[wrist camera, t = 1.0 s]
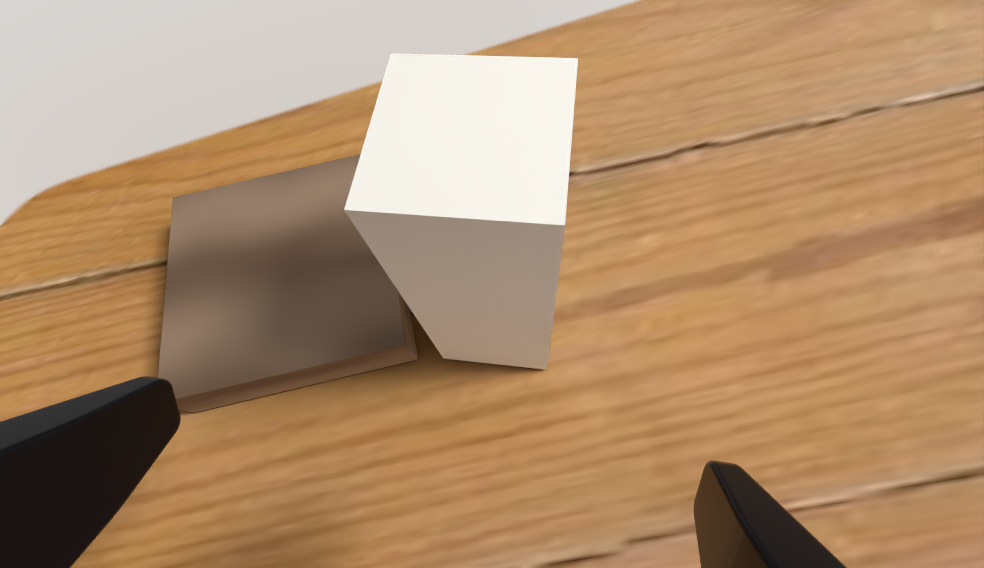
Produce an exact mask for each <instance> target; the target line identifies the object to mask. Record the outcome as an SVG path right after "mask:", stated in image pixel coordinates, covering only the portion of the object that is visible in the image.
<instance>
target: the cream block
mask: <svg viewBox="0 0 984 568" xmlns="http://www.w3.org/2000/svg"><path fill="white" fill-rule="evenodd" d="M577 63H578V58H546V57H507V56H468V55H430V54H429V55H428V54H391V55H390V59H389V62H388V66H387V69H386V72H385V76H384V79H383V82H382V85H381V89H380V92H379V95H378V99H377V102H376V105H375V109H374V112H373V115H372V119H371V122H370V125H369V129H368V132H367V135H366V139H365V142H364V145H363V149H362V152H361V155H360V158H359V162H358V165H357V168H356V172H355V175H354V178H353V182H352V185H351V188H350V192H349V195H348V198H347V202H346V205H345V208H344V211H345V212H346V214H347V215H348V217H349V218H350V220H351V221H352V223H353V224H354V226H355V227H356V229H357V230H358V232H359V233H360V235H361V236H362V238H363V239H364V241H365V242H366V244H367V245H368V246H369V248H370V249H371V251H372V252H373V254H374V255H375V257H376V258H377V260H378V261H379V263H380V264H381V266H382V267H383V269H384V270H385V272H386V273H387V275H388V276H389V278H390V279H391V281H392V282H393V284H394V285H395V287H396V288H397V290H398V291H399V293H400V294H401V296H402V297H403V299H404V300H405V302H406V303H407V305H408V306H409V308H410V309H411V311H412V312H413V314H414V315H415V317H416V318H417V320H418V321H419V323H420V324H421V326H422V327H423V329H424V330H425V332H426V333H427V335H428V336H429V338H430V339H431V341H432V342H433V344H434V345H435V347H436V348H437V350H438V351H439V353H440V354H441V356H442V357H443V358H444V359H453V360H463V361H472V362H481V363H490V364H499V365H509V366H518V367H527V368H536V369H545V370H547V367H548V359H549V351H550V342H551V334H552V326H553V318H554V310H555V302H556V294H557V285H558V277H559V269H560V261H561V253H562V245H563V236H564V228H565V217H566V204H567V191H568V179H569V166H570V153H571V140H572V127H573V114H574V102H575V89H576V76H577Z"/></svg>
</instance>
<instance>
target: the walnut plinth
mask: <svg viewBox="0 0 984 568" xmlns="http://www.w3.org/2000/svg"><path fill="white" fill-rule="evenodd" d="M360 155H361V154H360ZM360 155H356V156H351V157H347V158H342V159H338V160H334V161H329V162H325V163H321V164H316V165H312V166H308V167H303V168H299V169H295V170H290V171H286V172H282V173H277V174H273V175H269V176H264V177H260V178H255V179H251V180H247V181H242V182H238V183H234V184H229V185H225V186H221V187H216V188H212V189H208V190H203V191H199V192H195V193H190V194H186V195H181V196H177V197H173V202H172V214H171V226H170V238H169V250H168V262H167V274H166V287H165V299H164V311H163V323H162V335H161V347H160V359H159V371H158V378H162V379H166V380H168V381H169V382H170V383H171V385H172V387H173V391H174V394H175V398H176V401H177V405H178V409H180V410H184V411H189V412H193V413H196V412H200V411H204V410H208V409H212V408H216V407H221V406H225V405H229V404H233V403H237V402H242V401H246V400H250V399H254V398H258V397H263V396H267V395H271V394H275V393H279V392H283V391H288V390H292V389H296V388H300V387H304V386H309V385H313V384H317V383H321V382H325V381H330V380H334V379H338V378H342V377H346V376H350V375H355V374H359V373H363V372H367V371H371V370H376V369H380V368H384V367H388V366H392V365H397V364H401V363H405V362H409V361H413V360H417V359H418V355H417V349H416V342H415V336H414V330H413V323H412V317H411V311H410V308H409V306H408V305H407V303H406V302H405V300H404V299H403V297H402V296H401V294H400V293H399V291H398V290H397V288H396V287H395V285H394V284H393V282H392V281H391V279H390V278H389V276H388V275H387V273H386V272H385V270H384V269H383V267H382V266H381V264H380V263H379V261H378V260H377V258H376V257H375V255H374V254H373V252H372V251H371V249H370V248H369V246H368V245H367V244H366V242H365V241H364V239H363V238H362V236H361V235H360V233H359V232H358V230H357V229H356V227H355V226H354V224H353V223H352V221H351V220H350V218H349V217H348V215H347V214H346V212H345V211H344V208H345V205H346V202H347V198H348V195H349V192H350V188H351V185H352V182H353V178H354V175H355V172H356V168H357V165H358V162H359V158H360Z"/></svg>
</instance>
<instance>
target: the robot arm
mask: <svg viewBox="0 0 984 568" xmlns="http://www.w3.org/2000/svg"><path fill="white" fill-rule="evenodd" d="M180 419H181V417H180V412H179V409H178V405H177V401H176V398H175V394H174V391H173V387H172V385H171V383H170V382H169V381H168V380H166V379H162V378H155V377H148V376H144V377H139V378H136V379H133V380H129V381H126V382H123V383H120V384H117V385H114V386H111V387H108V388H104V389H101V390H98V391H95V392H92V393H89V394H86V395H83V396H79V397H76V398H73V399H70V400H67V401H64V402H61V403H58V404H55V405H51V406H48V407H45V408H42V409H39V410H36V411H33V412H30V413H26V414H23V415H20V416H17V417H14V418H11V419H8V420H5V421H1V422H0V568H70V567H71V566H72V565H73V564H74V562H75V561H76V560H77V559H78V558H79V557H80V555H81V554H82V553H83V552H84V551H85V550H86V548H87V547H88V546H89V545H90V544H91V543H92V541H93V540H94V539H95V538H96V537H97V536H98V534H99V533H100V532H101V531H102V530H103V529H104V527H105V526H106V525H107V524H108V523H109V521H110V520H111V519H112V518H113V517H114V515H115V514H116V513H117V512H118V511H119V509H120V508H121V507H122V505H123V504H124V503H125V501H126V500H127V499H128V497H129V496H130V495H131V493H132V492H133V491H134V489H135V488H136V486H137V485H138V484H139V482H140V481H141V480H142V478H143V477H144V475H145V474H146V473H147V471H148V470H149V469H150V467H151V466H152V464H153V463H154V462H155V460H156V459H157V458H158V456H159V455H160V453H161V452H162V451H163V449H164V448H165V447H166V445H167V444H168V442H169V441H170V440H171V438H172V437H173V436H174V434H175V433H176V431H177V430H178V427H179V425H180ZM694 519H695V526H696V533H697V541H698V548H699V555H700V562H701V568H847V567H845V566H844V565H843V564H842V563H841V562H840V561H839V560H838V559H837V558H836V557H835V556H834V555H833V554H832V553H831V552H830V551H829V550H828V549H827V548H825V547H824V546H823V545H822V544H821V543H820V542H819V541H818V540H817V539H816V538H815V537H814V536H813V535H812V534H811V533H810V532H809V531H808V530H807V529H805V528H804V527H803V526H802V525H801V524H800V523H799V522H798V521H797V520H796V519H795V518H794V517H793V516H792V515H791V514H790V513H789V512H788V511H787V510H785V509H784V508H783V507H782V506H781V505H780V504H779V503H778V502H777V501H776V500H775V499H774V498H773V497H772V496H771V495H770V494H769V493H768V492H767V491H765V490H764V489H763V488H762V487H761V486H760V485H759V484H758V483H757V482H756V481H755V480H754V479H753V478H752V477H751V476H750V475H749V474H748V473H747V472H745V471H744V470H743V469H742V468H741V467H740V466H738V465H736V464H733V463H726V462H720V461H709V462H707V464H706V465H705V467H704V470H703V474H702V477H701V480H700V484H699V487H698V491H697V494H696V497H695V502H694Z"/></svg>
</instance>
